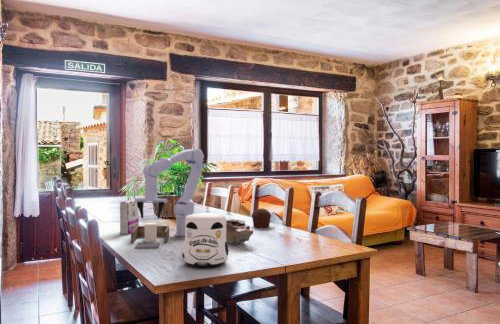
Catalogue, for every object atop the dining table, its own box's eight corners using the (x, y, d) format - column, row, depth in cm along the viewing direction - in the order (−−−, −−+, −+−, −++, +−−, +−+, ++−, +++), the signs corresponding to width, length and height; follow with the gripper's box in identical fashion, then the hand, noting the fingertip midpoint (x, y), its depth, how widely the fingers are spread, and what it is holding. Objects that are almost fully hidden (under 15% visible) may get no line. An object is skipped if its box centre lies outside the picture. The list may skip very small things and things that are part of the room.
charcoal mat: (160, 243, 182) (160, 242, 182) (158, 248, 173) (158, 247, 173) (137, 243, 181) (137, 242, 181) (134, 248, 172) (134, 247, 172)
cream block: (156, 239, 191) (156, 222, 191) (155, 241, 186) (155, 224, 186) (145, 239, 191) (145, 222, 191) (144, 241, 186) (144, 224, 186)
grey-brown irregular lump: (242, 237, 198) (242, 217, 197) (260, 246, 179) (260, 224, 179) (217, 239, 192) (217, 219, 192) (233, 248, 174) (233, 226, 174)
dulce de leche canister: (196, 273, 139) (196, 222, 138) (174, 261, 153) (174, 215, 152) (237, 265, 149) (237, 217, 148) (213, 255, 163) (213, 211, 162)
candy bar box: (130, 229, 212) (130, 199, 212) (138, 230, 211) (138, 199, 211) (119, 234, 201) (119, 201, 201) (128, 234, 200) (128, 202, 200)
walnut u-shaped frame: (169, 235, 199) (169, 225, 199) (166, 243, 183) (166, 232, 183) (136, 236, 197) (136, 226, 197) (131, 243, 181) (131, 232, 181)
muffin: (274, 227, 222) (274, 210, 222) (256, 229, 218) (256, 211, 218) (265, 224, 233) (266, 207, 233) (248, 225, 229) (248, 208, 229)
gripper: (133, 190, 183) (133, 219, 184) (165, 190, 185) (165, 219, 185) (136, 188, 190) (135, 216, 191) (167, 189, 192) (166, 217, 192)
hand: (150, 218), depth 188 cm, fingers open, 7 cm apart
